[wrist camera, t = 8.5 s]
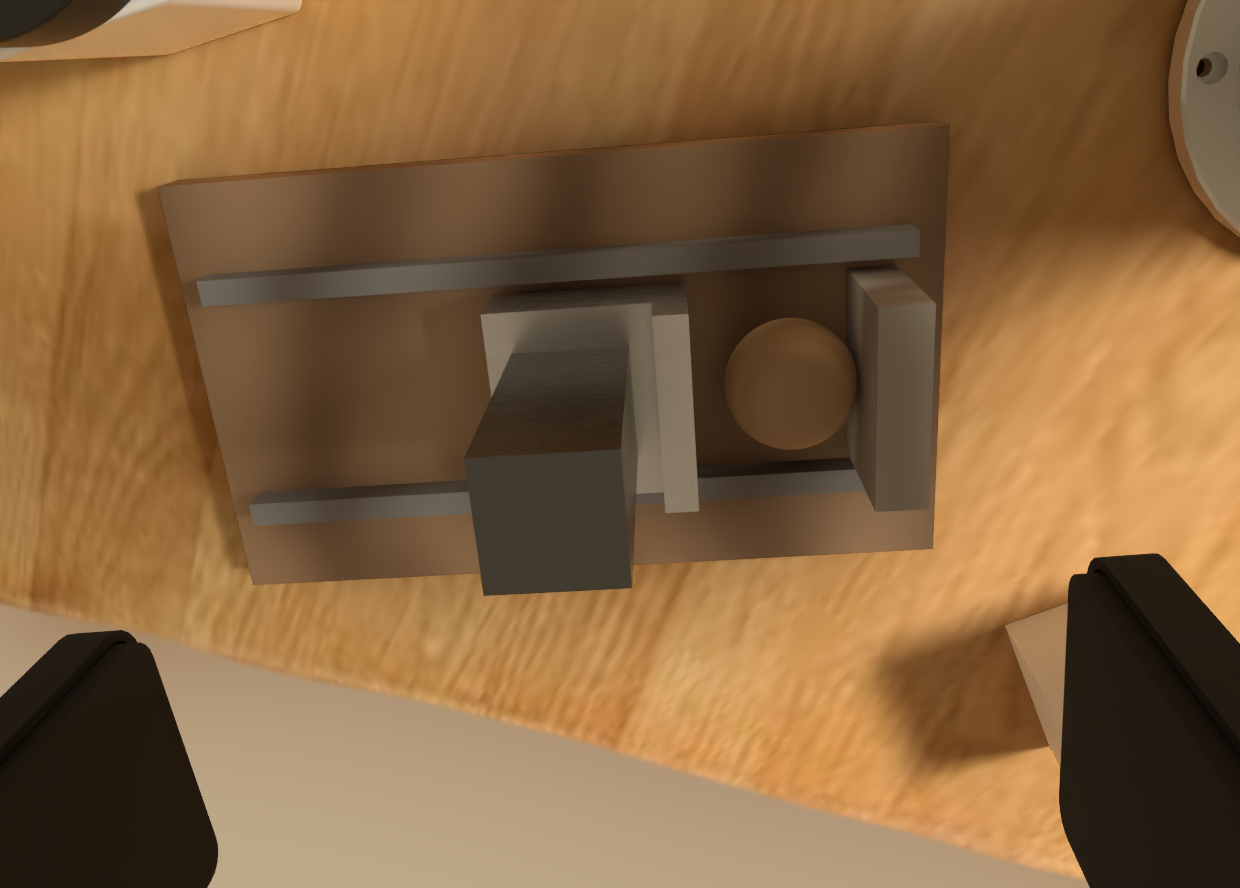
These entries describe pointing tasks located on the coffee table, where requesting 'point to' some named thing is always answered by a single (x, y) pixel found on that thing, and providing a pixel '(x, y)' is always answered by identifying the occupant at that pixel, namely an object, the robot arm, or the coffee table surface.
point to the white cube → (1044, 667)
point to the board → (568, 259)
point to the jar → (124, 26)
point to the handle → (579, 433)
